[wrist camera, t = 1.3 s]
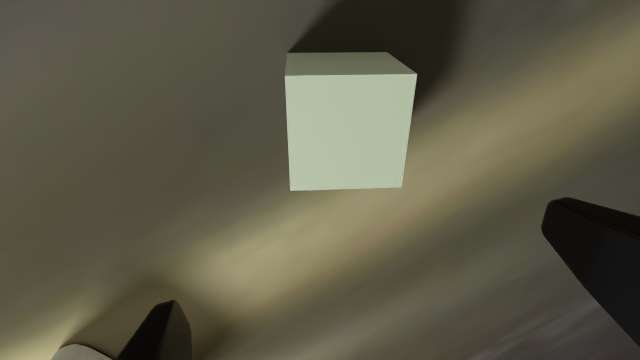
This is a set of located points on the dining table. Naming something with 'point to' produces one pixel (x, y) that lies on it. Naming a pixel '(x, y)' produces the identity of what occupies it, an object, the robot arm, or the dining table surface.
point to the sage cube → (347, 119)
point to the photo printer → (78, 353)
